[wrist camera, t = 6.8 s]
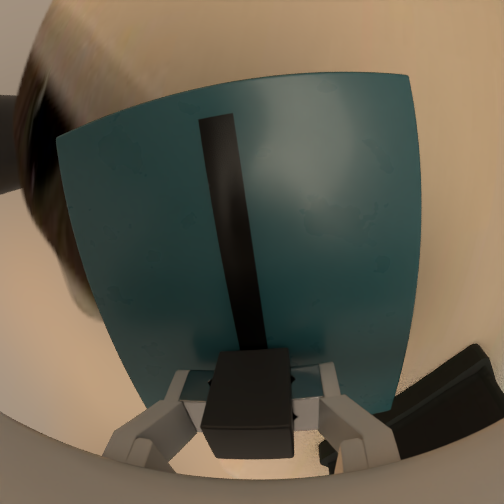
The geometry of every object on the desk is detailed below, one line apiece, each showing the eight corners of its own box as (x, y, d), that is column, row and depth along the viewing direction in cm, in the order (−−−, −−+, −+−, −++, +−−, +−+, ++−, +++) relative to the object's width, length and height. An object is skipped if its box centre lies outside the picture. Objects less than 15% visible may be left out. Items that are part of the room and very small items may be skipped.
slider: (229, 387, 10) (215, 459, 7) (218, 350, 10) (198, 427, 7) (291, 384, 10) (294, 458, 7) (288, 346, 10) (291, 426, 6)
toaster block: (179, 358, 18) (151, 426, 12) (122, 133, 13) (47, 132, 8) (368, 343, 17) (395, 414, 11) (362, 95, 12) (416, 66, 6)
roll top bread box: (561, 468, 3) (537, 489, 7) (474, 335, 16) (499, 412, 20) (313, 581, 8) (408, 560, 12) (309, 443, 21) (393, 480, 25)
